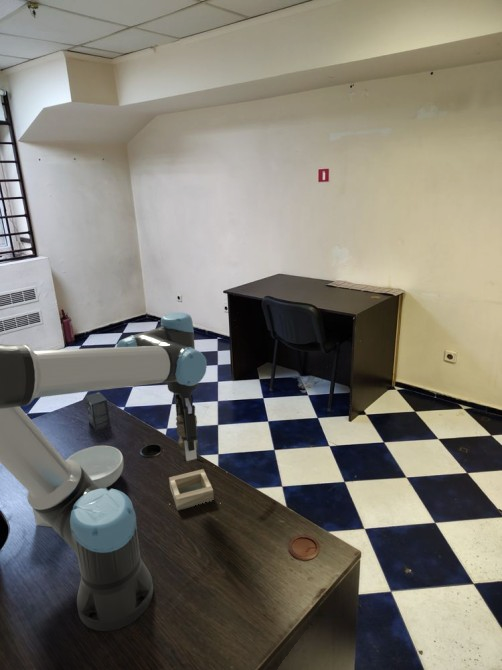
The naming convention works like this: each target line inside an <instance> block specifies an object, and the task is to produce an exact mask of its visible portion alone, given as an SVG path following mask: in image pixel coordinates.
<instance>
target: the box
mask: <svg viewBox="0 0 502 670" xmlns="http://www.w3.org/2000/svg"><path fill="white" fill-rule="evenodd" d="M84 399H85V400H84V401H85V407H86V411H87V412H86V413H87V418H88V419H87V420H88V422H89V423H90V425H91V426H92V427H93V429H94V430H96V431H97V430H100V429H104V428H106V427H109V426H111V419H110V413H109V406H108V400H107V398H106V397H105V396H104V395H103V394H102V393H101V392H100V391H97V392H95V393H90V394H87V395H85V396H84Z"/></svg>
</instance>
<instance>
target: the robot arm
mask: <svg viewBox="0 0 502 670" xmlns="http://www.w3.org/2000/svg"><path fill="white" fill-rule="evenodd" d="M194 332H195V330H194V324H193V319H192V316H191V315H190V314H188V313H185V312H170V313H166V314H164V315H163V316H162V317H161V319H160V326H158V327H157V328H154V329H150V330H146V331H145V332H140V333H137V334H134V335H133V334H132V335H129V336H127V337H125V338H123V339H120V340H119V341H118V342H117V345H116V347H95V348H93V347H91V348H72V349H71V348H69V349H66V348H65V349H48V350H47V349H44V350H43V349H42V350H32V349H31V348H30V347H29V346H28V345H25V344H1V343H0V464H1V465H2V466H3V467H4V468H5V469H6V470H7V471H8V472H9V473H10V474H11V475H12V476H13V477H14V478H15V479H16V480H17V481H18V482H19V483H20V485H22V486H23V487H24V488H25V489H26V490H27V491H28V493H27V502H28V505H29V507H31V508H32V510H33V509H34V510H35V511H36V512H37V513H38V514H39V515H40V516H41V517H42V518H43V519H44V520H45V521H46V522H47V523H48V524H49V525H50V526H51V527H50V528H52V529H53V530H54V532H56V534H58V536H60V538H62V539H63V541H64V542H65V543H66V544H67V545H68V546H69V547H70V548H71V550H72V551H73V552H74V553H75V555H76V558H77V562H78V567H79V572H80V577H81V578H80V581H79V586H78V591H77V596H76V606H77V611H78V612H77V613H78V616H79V619H80V621H81V622H82V624H84V626H86V627H88V628H89V629H91V630H94V631H98V632H111V631H116V630H119V629H123V628H125V627H127V626H128V625H130V624H132V623H134V622H135V621H137V620H138V619H139V618H140V617H141V616H142V615H143V613H145V611H146V610H147V609H148V607H149V606H150V604H151V602H152V598H153V594H154V585H153V579H152V578H153V577H152V575H151V572H150V570H149V569H148V568H147V566H146V565H145V563H144V561H143V559H142V558H141V554H140V553H141V552H140V544H139V537H138V530H137V529H138V528H137V516H136V511H135V509H134V505H133V503H132V501H131V499H130V498H129V496H128V495H127V494H125V492H123V491H121V490H118V489H116V488H115V489H114V488H110V489H108V487H106V488H102V489H101V488H100V487H99V486H97V485H96V484H95V483H94V482H93V481H92V480H91V478H90V477H89V476H88V475H87V474H86V472H85V471H84V470H83V469H82V468H81V466H80V465H79V464H78V463H77V462H75V461H73V460H67V459H65V458H64V457H63V456H62V455H61V454H60V453H59V451H58V450H57V449H56V448H55V446H54V445H53V444H52V443H51V442H50V440H48V438H47V437H46V436H45V435H44V434H43V432H42V431H41V429H40V428H39V427H38V426H37V425H36V424H35V423H34V422H33V420H32V419H31V418H30V417H29V416H28V415H27V413H26V412H25V411H24V410H23V409H22V408H21V407H25V406H28V405H30V404H31V403H32V402H33V401H34V399H36V398H38V399H39V398H45V397H46V398H47V397H52V396H62V395H70V394H71V395H72V394H78V393H88V392H95V391H97V392H98V391H102V390H110V389H111V390H114V389H118V388H119V389H121V388H127V387H128V388H129V387H137V386H138V387H139V386H144V385H155V384H160V383H166V386H167V390H168V391H169V392H170V393H173V394H174V402H175V411H176V412H175V413H176V414H175V415H176V417H177V416H178V415H182V419H183V426H184V433H185V438H182V439H183V441H184V442H185V453H186V460H187V461H189V460H193V459H194V460H197V459H198V457H197V455H198V454H197V451H196V443H195V440H197V441H198V431H197V432H196V421H195V415H196V406H195V405H194V404H193V402H194V397H193V395H191V393H192V392H194V391H195V390H196V389H197V387H198V384H199V383H200V382H201V381H202V379H203V378H204V377H205V374H206V372H207V363H208V362H207V358H206V356H205V355H204V353H202V352H201V351H199V350H197V349H196V348H195V333H194ZM179 438H181V437H180V436H179Z"/></svg>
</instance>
